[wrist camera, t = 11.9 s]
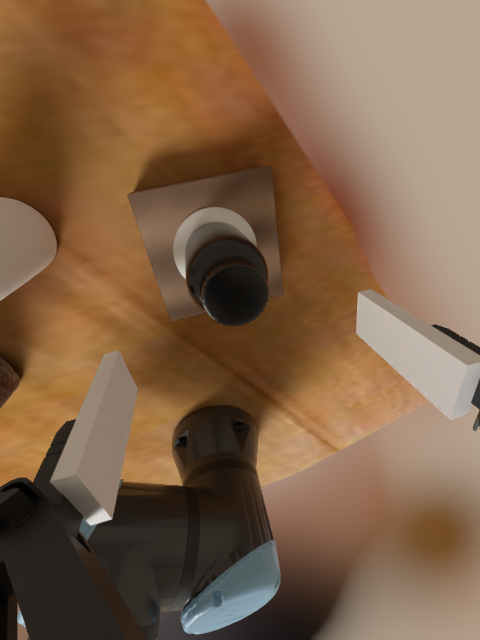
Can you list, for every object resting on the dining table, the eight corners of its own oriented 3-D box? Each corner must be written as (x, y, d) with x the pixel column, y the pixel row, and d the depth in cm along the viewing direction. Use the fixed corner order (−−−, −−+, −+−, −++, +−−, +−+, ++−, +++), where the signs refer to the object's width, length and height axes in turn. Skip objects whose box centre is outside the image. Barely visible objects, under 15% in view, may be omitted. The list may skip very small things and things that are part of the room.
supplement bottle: (255, 269, 31) (293, 319, 21) (200, 292, 31) (209, 353, 21) (235, 208, 28) (267, 233, 17) (172, 234, 28) (168, 274, 17)
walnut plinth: (274, 283, 37) (284, 295, 33) (172, 306, 36) (170, 322, 32) (261, 166, 30) (272, 166, 26) (133, 191, 29) (126, 195, 25)
